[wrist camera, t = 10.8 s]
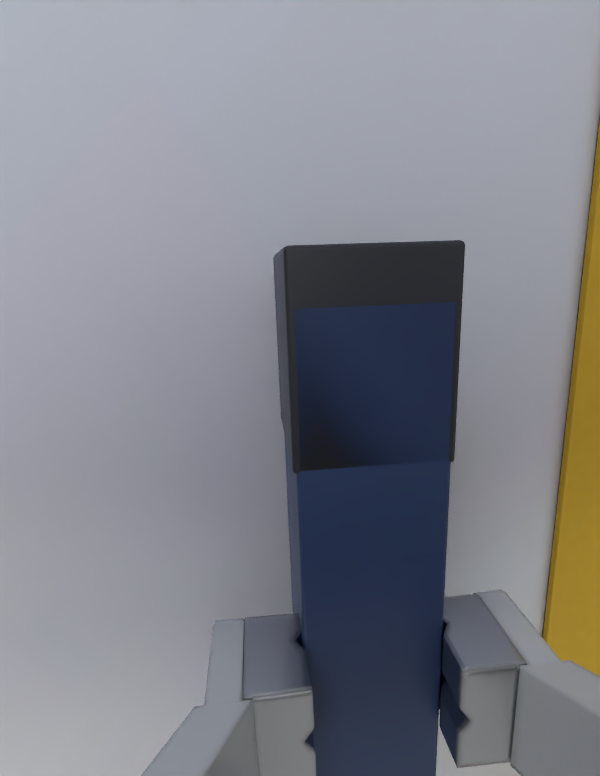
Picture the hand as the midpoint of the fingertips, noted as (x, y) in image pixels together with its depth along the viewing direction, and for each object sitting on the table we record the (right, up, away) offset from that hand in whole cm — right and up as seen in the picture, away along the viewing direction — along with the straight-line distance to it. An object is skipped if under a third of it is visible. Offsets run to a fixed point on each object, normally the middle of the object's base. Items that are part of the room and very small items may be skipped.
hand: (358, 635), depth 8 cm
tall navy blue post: (0, 0, +2) cm, 2 cm away
